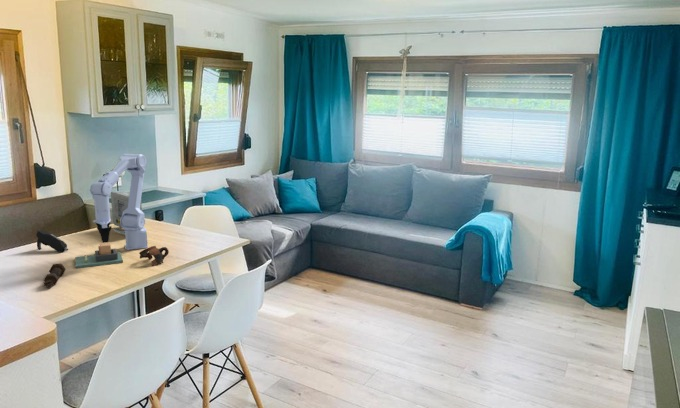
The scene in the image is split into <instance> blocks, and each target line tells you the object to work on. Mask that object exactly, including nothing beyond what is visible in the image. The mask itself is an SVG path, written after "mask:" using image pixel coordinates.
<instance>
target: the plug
mask: <svg viewBox="0 0 680 408" xmlns="http://www.w3.org/2000/svg"><path fill="white" fill-rule="evenodd" d="M97 247H98V250H99V255H104V254H111V249H112V248H111V242H106V243H99V245H98V246H97Z"/></svg>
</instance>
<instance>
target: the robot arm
mask: <svg viewBox="0 0 680 408" xmlns="http://www.w3.org/2000/svg"><path fill="white" fill-rule="evenodd" d="M147 162H148V161H147V158H146V156H145V155H144V154H140V153H138V154H136V153H122V155H121V156H119V161H118V163H117V164H116V165H115V167H114V168H113V169H112V170H108V171H106V172H105V174H104V175H103V176H102V177H101V178H100V179H99V180H98V181H95V182H93V183H91V185H90V189H89V192H90V194H91V196H92V199H93V200H94V201H93V202H94V212H95V213H94V214H95V219H92V223H95V224H96V230H97V231H98V232H99V234H100V238H101V242H102V244H104V243H109V240H110V234H111V233H110V232H111V230H112V229H113V228H112V225H110V224H111V222H112V219H111V209H110V208H111V206H110V197H109V196H110V195H111V192H112V189H113V188H114V185H116V184H117V183H118V182H119V180H120V176H121V175H122V174H123V173H125V171H127V172H129V173H130V174H131V180H130V188H129V193H128V194H129V202H128V208H127V209H126V210H124V211H123V213H122V217H121V219H120V224H121V226H122V227H123V228H122V229H123V230H125V235H124V236H125V237H124V238H125V244H124V248H125V250H127V251H129V250H139V249H147V248H149V247H148V233H147V228H146V227H145V225H146V219H145V218H146V217H145V212H143V210H142V211H141V210H140V203H141V204H142V196H143V195H142V194H143V187H144V186H143V185H144V179H145V173H146V167H147ZM131 214H136V215H137V216H136V215H131Z"/></svg>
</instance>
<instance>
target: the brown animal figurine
mask: <svg viewBox="0 0 680 408" xmlns="http://www.w3.org/2000/svg"><path fill="white" fill-rule="evenodd" d="M163 251H164V254H163ZM169 251H170V250H169V248H167V247H166V246H162V247H159V248H158V247H157V246H156V245H153V246H149V247H148V248H144V249H143V250H141V251H140V252H138V254H139V259H143V258H145V259H146V258H147V259H148V260H151V261H150V263H151V265H152V267H153V266H157V265H158V264H163V263H164V259H165V258H166V257H167V256H168V255H169V253H170V252H169ZM153 258H154V259H153Z"/></svg>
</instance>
